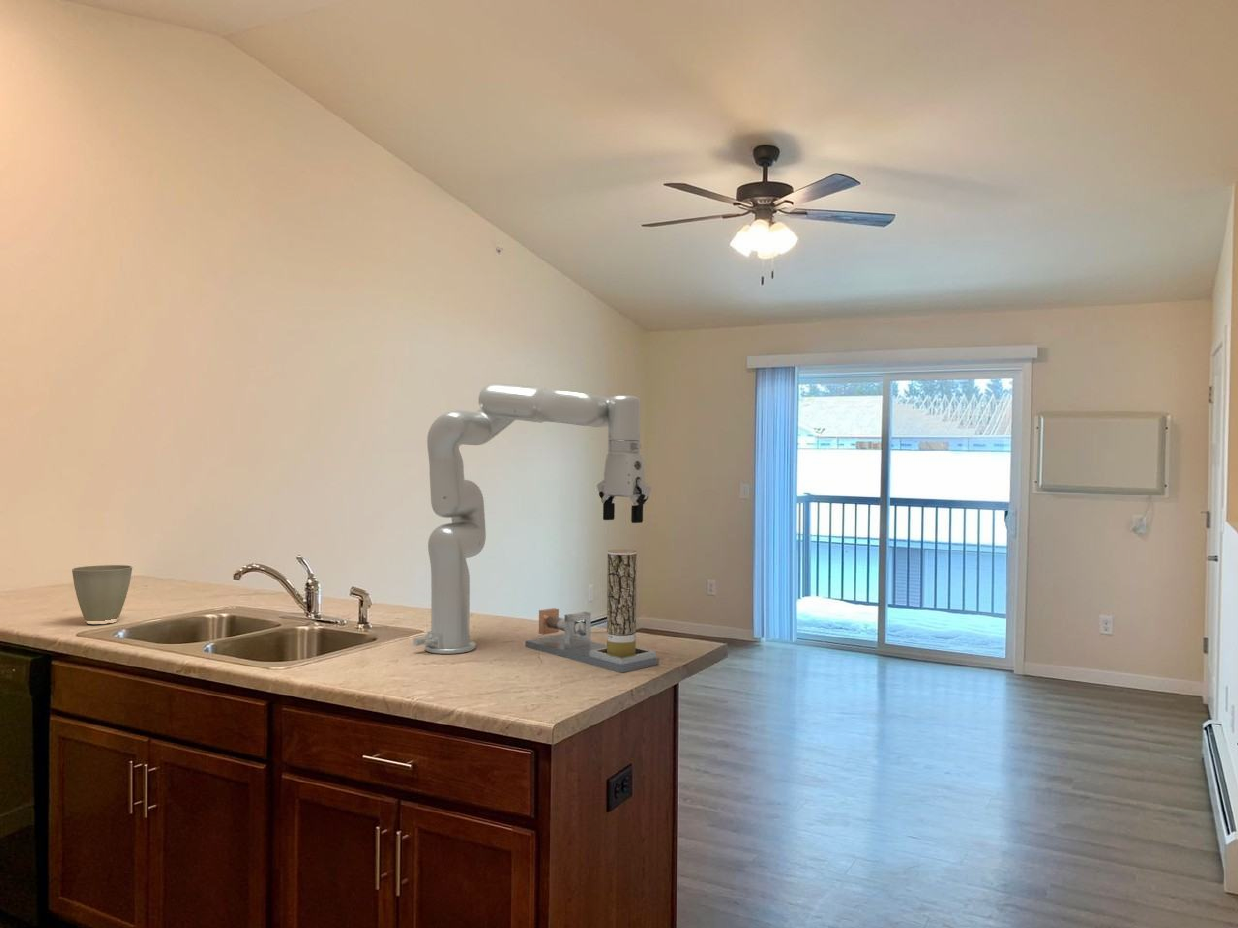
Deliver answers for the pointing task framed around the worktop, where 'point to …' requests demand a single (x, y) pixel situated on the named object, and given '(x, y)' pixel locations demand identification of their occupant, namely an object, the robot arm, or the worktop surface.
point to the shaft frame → (590, 648)
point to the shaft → (556, 622)
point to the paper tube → (621, 603)
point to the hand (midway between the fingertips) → (622, 521)
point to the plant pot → (101, 590)
